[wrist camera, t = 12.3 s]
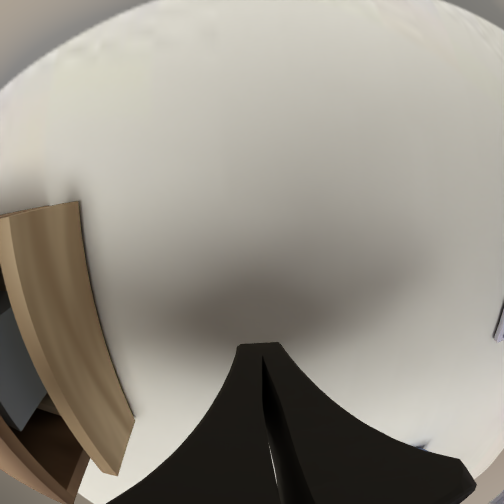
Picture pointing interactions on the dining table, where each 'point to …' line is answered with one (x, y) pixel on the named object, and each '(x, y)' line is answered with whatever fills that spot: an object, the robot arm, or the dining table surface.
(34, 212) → the wooden drawer
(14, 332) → the slate cube
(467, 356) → the dining table surface
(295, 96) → the dining table surface
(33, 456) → the brown drawer cabinet
